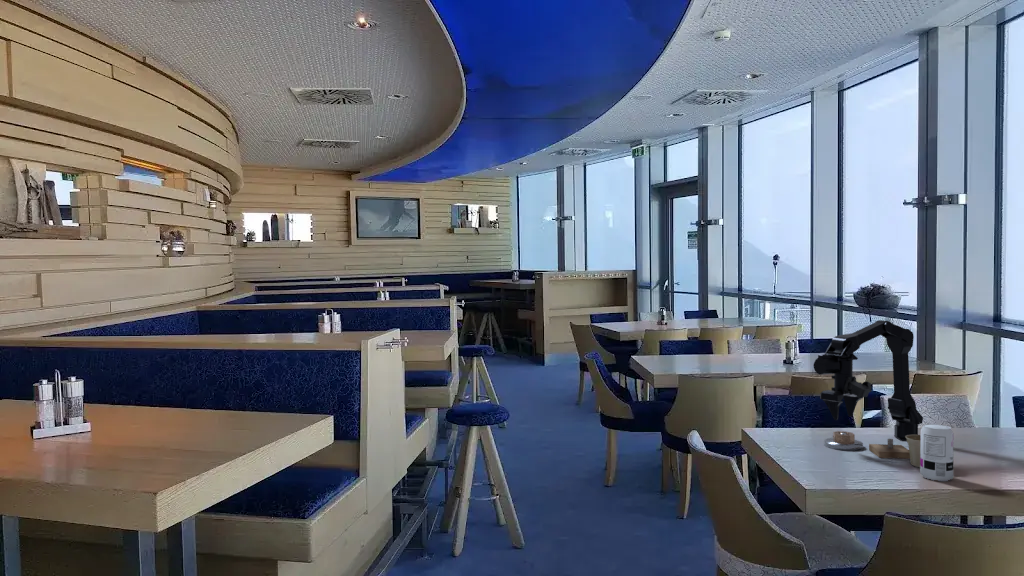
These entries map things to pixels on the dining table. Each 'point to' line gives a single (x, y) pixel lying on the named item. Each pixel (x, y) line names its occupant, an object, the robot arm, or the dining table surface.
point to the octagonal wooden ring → (843, 437)
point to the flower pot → (914, 449)
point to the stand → (889, 450)
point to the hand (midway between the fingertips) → (843, 418)
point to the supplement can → (937, 452)
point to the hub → (843, 445)
